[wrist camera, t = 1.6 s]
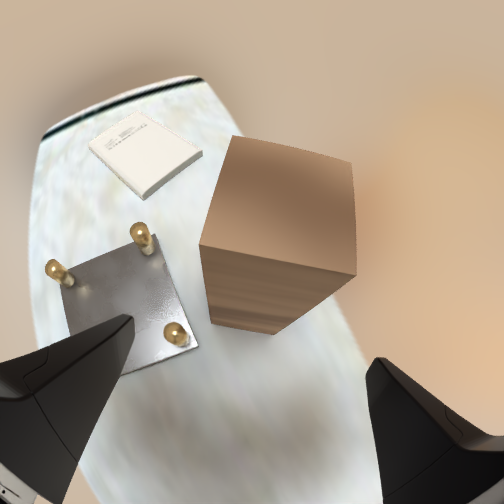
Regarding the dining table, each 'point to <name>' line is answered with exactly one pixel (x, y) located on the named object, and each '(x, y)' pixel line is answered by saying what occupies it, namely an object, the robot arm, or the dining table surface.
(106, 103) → the dining table surface
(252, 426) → the dining table surface
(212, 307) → the walnut post
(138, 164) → the external hard drive
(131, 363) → the plate
